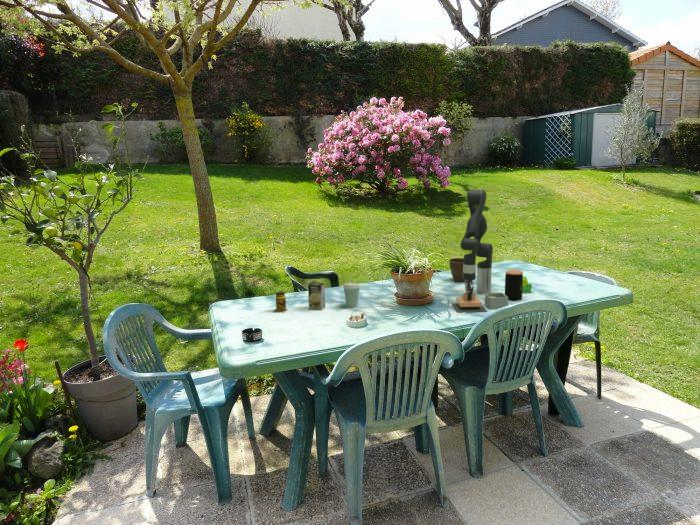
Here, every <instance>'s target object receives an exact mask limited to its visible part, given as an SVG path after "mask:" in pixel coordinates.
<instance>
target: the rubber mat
mask: <svg viewBox="0 0 700 525" xmlns="http://www.w3.org/2000/svg"><path fill="white" fill-rule="evenodd" d="M451 304H452V305H451ZM450 305H451V306H452V307H454V308H453V309H454V310H455V312H456V313H457V314H459V313H463V312H466V313H488V310H487V309H486V307H485V306H484V305H483V304H482V306H478V307H460V305H459V304H458V303H457V302H453V303H452V302H451V303H450Z"/></svg>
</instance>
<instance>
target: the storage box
mask: <svg viewBox="0 0 700 525" xmlns="http://www.w3.org/2000/svg"><path fill="white" fill-rule="evenodd" d="M484 305H485V306H486V307H487V309H489V310H499V309H498V308H502V307H505V306H508V307H509V300H508V297H507V296H506V295H505V292H491V293H485V294H484Z"/></svg>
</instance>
